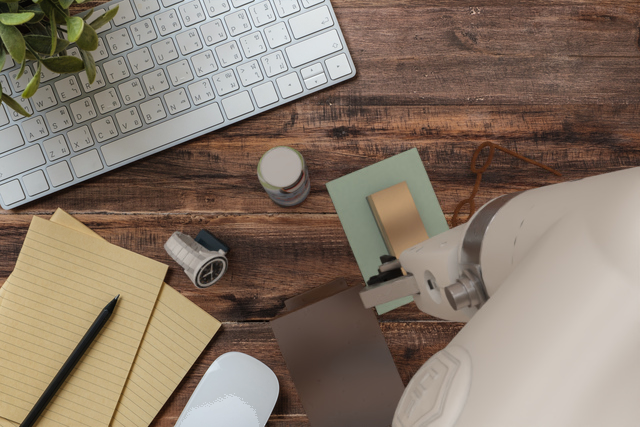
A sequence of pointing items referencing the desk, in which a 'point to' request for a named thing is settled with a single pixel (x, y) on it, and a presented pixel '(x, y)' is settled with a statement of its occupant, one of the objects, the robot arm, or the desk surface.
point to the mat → (359, 217)
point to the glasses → (483, 168)
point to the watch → (199, 256)
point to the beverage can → (284, 176)
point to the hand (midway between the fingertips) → (439, 251)
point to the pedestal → (338, 357)
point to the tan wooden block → (397, 219)
